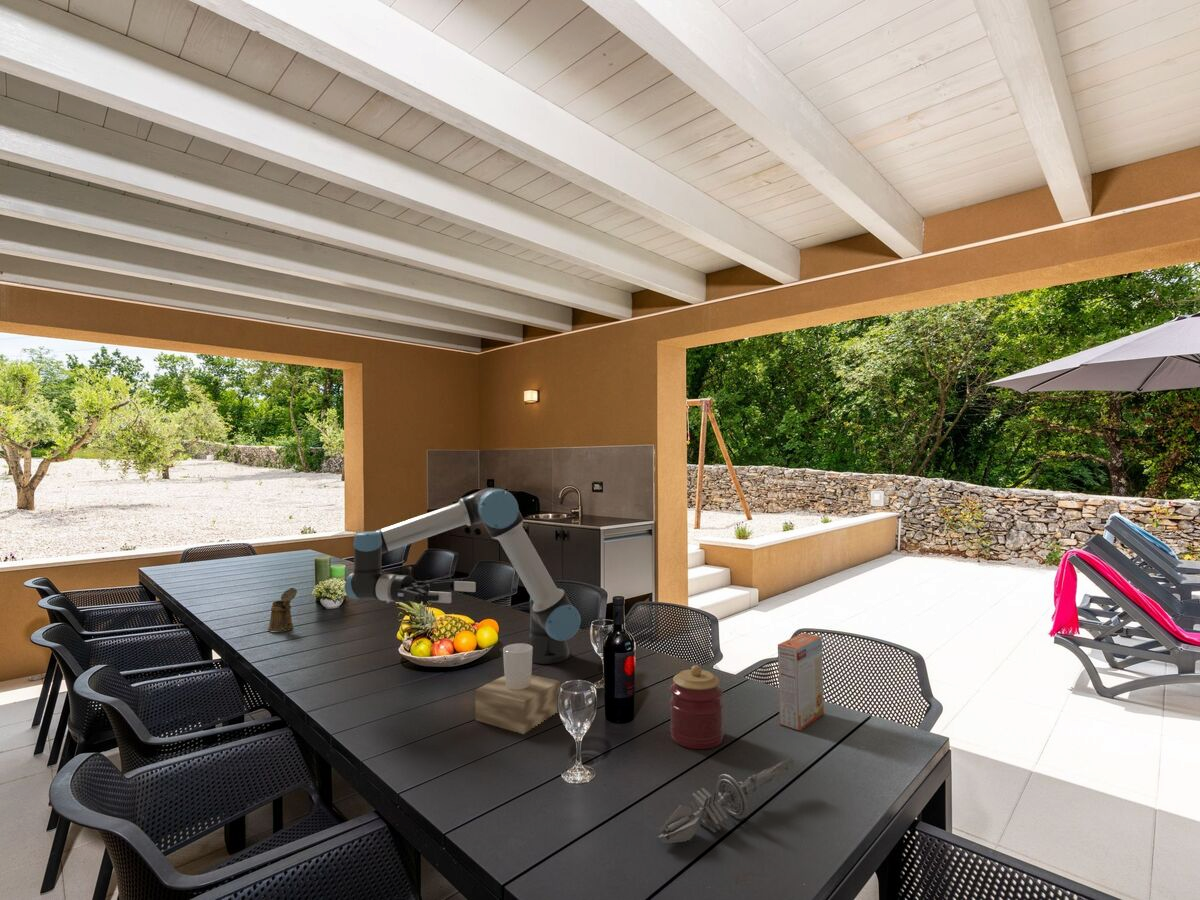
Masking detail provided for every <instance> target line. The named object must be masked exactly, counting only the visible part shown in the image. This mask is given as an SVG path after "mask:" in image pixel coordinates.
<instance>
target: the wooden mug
mask: <svg viewBox="0 0 1200 900" xmlns="http://www.w3.org/2000/svg"><path fill="white" fill-rule="evenodd" d="M297 591H298V589H296V588H293V587H290V588H289V589H286V590H285V591H284V592H283V593H282V594H281V595H280V600H275V601H273V602H272V605H271V607H270V610H271V612H270V617H269V618H270V619H269V626H268V628H267V631H268V630H269V631H284V630H288V629H291V628H292V629H293V628H294V623H293V620H292V614H291V613H292V611H291V609H292V607H291V601H292V600H293V599H294V598H295V597H296V595H297V593H298V592H297ZM292 629H291V630H292ZM288 631H289V630H288ZM284 632H285V631H284Z"/></svg>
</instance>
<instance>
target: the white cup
mask: <svg viewBox="0 0 1200 900" xmlns="http://www.w3.org/2000/svg"><path fill="white" fill-rule="evenodd" d="M532 652H533V647H532V646H531V645H529V644H528V643H522V642H521V643H512V644H507V645H505V646H504V647H503V649H502V654H503V655H502V656H503V671H504V673H503V674H504V675H505V685H506V687H507V688H508V689H513V690H520V689H525V688H527V687H529V686H530V685H531V675H532V670H533V668H532V667H533V662H532Z"/></svg>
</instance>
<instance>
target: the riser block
mask: <svg viewBox="0 0 1200 900" xmlns="http://www.w3.org/2000/svg"><path fill="white" fill-rule="evenodd" d="M559 689H560V690H561V681H560V680H556V679H552V678H547V677H545V676H544V677H543V676H538V675H533V674H531V685H530V686H529V687H527V688H525V689H520V690H513V689H508V688H507V687H506V685H505V674H504V675H503V676H501V677H499V678H496V679H494V680H492V681H490V682H488V683H486V684H484V685H482V686H480V687H478V688H476V689H475V690H474V691H475V692H474V694H475V695H474V698H475V701H474V702H475V714H474V715H475V716H474V717H475V721H477V722H480V723H484V724H488V725H490V726H494V727H498V728H501V729H503V730H507V731H511V732H514V733H517V732H518V734H521V735H525V734H526V733H528V732H529V731H531V730H532V728H533V729H534V728H536V727H537V726H538V724H539V725H541V724H542V723H543V722H545V721H547V720H548V719H550V718H551V717H552V715H553V716H555V713H556V714H558V712H557V696H558V692H559ZM549 717H550V718H549ZM547 718H548V719H547ZM544 720H545V721H544ZM541 722H542V723H541ZM535 726H536V727H535Z"/></svg>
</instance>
